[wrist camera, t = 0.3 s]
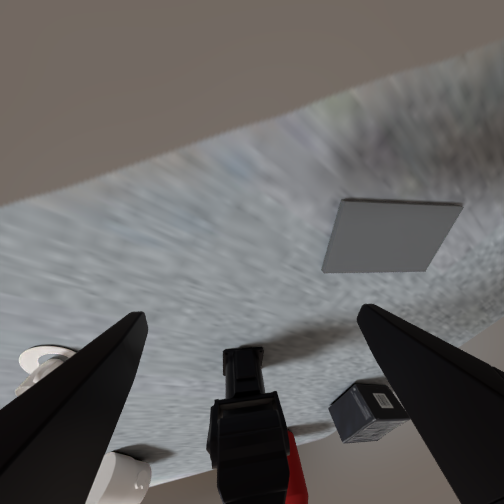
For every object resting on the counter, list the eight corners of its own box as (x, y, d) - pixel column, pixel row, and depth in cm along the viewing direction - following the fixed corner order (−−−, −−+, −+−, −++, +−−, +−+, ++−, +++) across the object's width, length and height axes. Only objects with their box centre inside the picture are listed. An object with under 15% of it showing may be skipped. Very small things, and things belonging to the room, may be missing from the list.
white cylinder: (125, 444, 40) (104, 506, 33) (156, 454, 44) (143, 511, 37) (83, 463, 42) (55, 525, 35) (117, 471, 46) (98, 528, 39)
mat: (419, 268, 26) (425, 271, 26) (321, 269, 24) (324, 273, 24) (456, 205, 22) (463, 206, 22) (341, 199, 20) (345, 201, 19)
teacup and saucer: (68, 385, 29) (46, 418, 26) (8, 366, 26) (-28, 401, 22) (102, 359, 27) (84, 389, 24) (41, 334, 24) (9, 366, 20)
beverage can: (262, 439, 48) (273, 519, 37) (274, 426, 45) (289, 509, 35) (284, 439, 50) (300, 515, 39) (297, 427, 47) (318, 506, 37)
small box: (353, 381, 39) (326, 407, 43) (376, 420, 34) (342, 445, 38) (386, 383, 43) (358, 407, 47) (412, 419, 37) (378, 442, 41)
